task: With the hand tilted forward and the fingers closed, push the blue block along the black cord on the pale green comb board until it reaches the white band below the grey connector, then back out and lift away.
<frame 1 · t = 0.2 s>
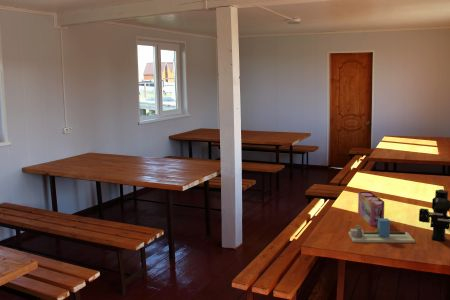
hand: (440, 222, 213), 17 cm above the table, tool horizontal, fingers open, 9 cm apart
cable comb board: (381, 238, 241), on the table
blue block: (383, 227, 240), point 6 cm above the table, slide at 0.0 cm
gum box: (370, 219, 271), on the table
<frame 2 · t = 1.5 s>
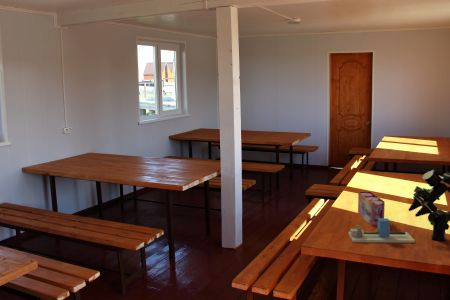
hand: (412, 213, 237), 14 cm above the table, tool tilted 45°, fingers open, 9 cm apart
nothing on the table moved.
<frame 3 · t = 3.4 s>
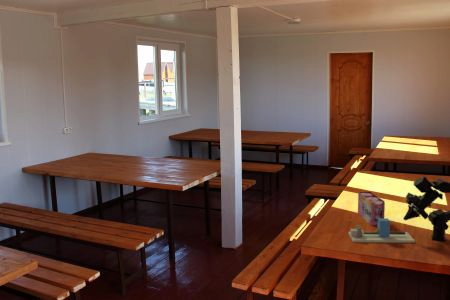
hand: (404, 219, 238), 10 cm above the table, tool tilted 45°, fingers closed
nothing on the table moved.
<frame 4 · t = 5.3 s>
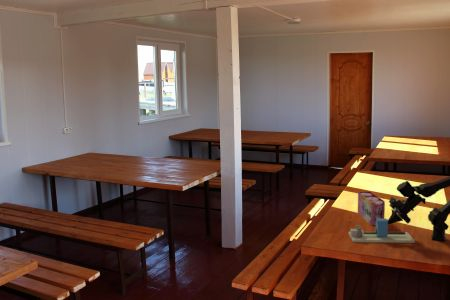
hand: (387, 223, 239), 8 cm above the table, tool tilted 45°, fingers closed, pressing on blue block
blue block: (381, 227, 240), point 6 cm above the table, slide at 1.1 cm, touching gripper
everything else where it was.
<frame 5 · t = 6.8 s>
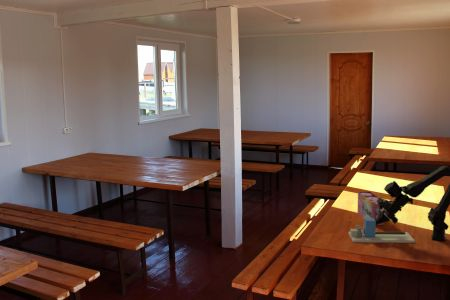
hand: (375, 224, 240), 8 cm above the table, tool tilted 45°, fingers closed, pressing on blue block
blue block: (369, 227, 240), point 6 cm above the table, slide at 7.2 cm, touching gripper
everything else where it was.
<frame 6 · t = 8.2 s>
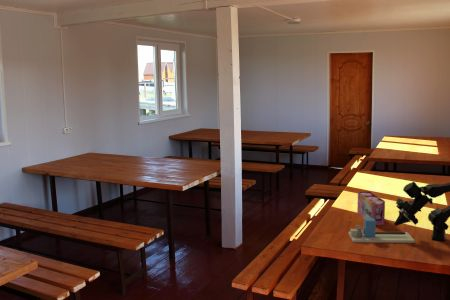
hand: (394, 225, 239), 7 cm above the table, tool tilted 45°, fingers closed
blue block: (369, 227, 240), point 6 cm above the table, slide at 7.2 cm
everything else where it was.
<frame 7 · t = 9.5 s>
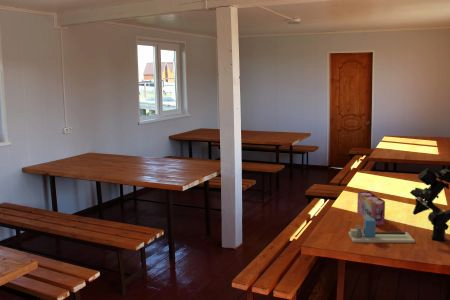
hand: (413, 214, 237), 13 cm above the table, tool tilted 35°, fingers closed
nothing on the table moved.
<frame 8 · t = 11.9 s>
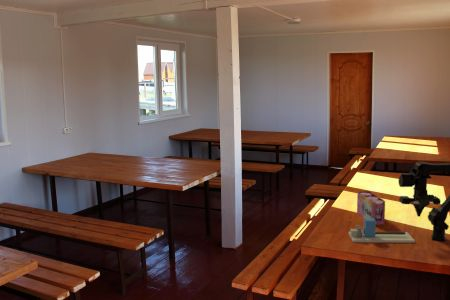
hand: (418, 216, 237), 12 cm above the table, tool pointing down, fingers closed
at the end: blue block slide at 7.2 cm; gum box moved 1.3 cm from its start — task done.
